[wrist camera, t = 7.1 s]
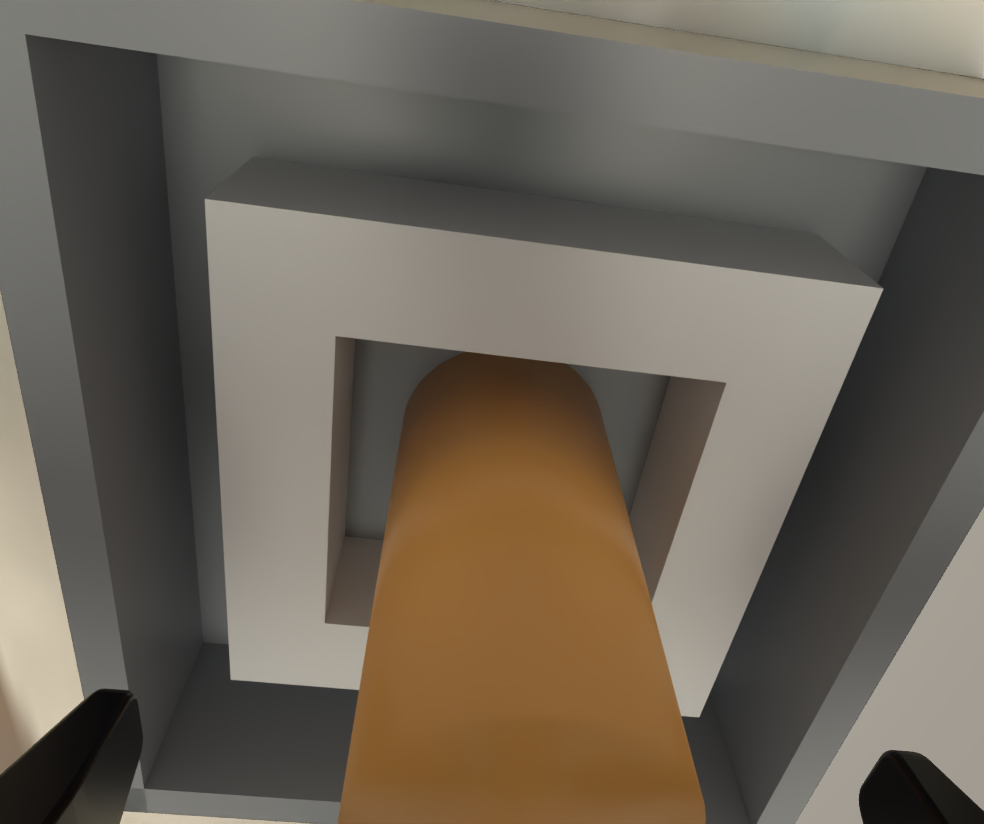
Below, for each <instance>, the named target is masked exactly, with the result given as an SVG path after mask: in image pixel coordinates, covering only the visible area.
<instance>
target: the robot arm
mask: <svg viewBox="0 0 984 824" xmlns="http://www.w3.org/2000/svg"><path fill="white" fill-rule="evenodd" d="M142 746H143V730H142V724H141V717H140V711H139V704H138V699H137V695H136V694H135V693H134V692H133V691H130V690H119V689H106V688H104V689H99V690H97V691H94V692H93V693H91V694H90V695H89V696H88V697H87V698H86V699H84V700H83V701H82V702H81V703H80V704H79V705H78V706H77V707H76V708H74V709H73V710H72V711H71V712H70V713H69V714H68V715H67V716H65V717H64V718H63V719H62V720H61V721H60V722H59V723H58V724H57V725H55V726H54V727H53V728H52V729H51V730H50V731H49V732H48V733H46V734H45V735H44V736H43V737H42V738H41V739H40V740H39V741H38V742H36V743H35V744H34V745H33V746H32V747H31V748H30V749H29V750H28V751H26V752H25V753H24V754H23V755H22V756H21V757H20V758H19V759H17V760H16V761H15V762H14V763H13V764H12V765H11V766H10V767H8V768H7V769H6V770H5V771H4V772H3V773H2V774H1V775H0V824H120V821H121V817H122V814H123V811H124V808H125V805H126V801H127V798H128V795H129V792H130V788H131V785H132V782H133V779H134V775H135V772H136V769H137V766H138V763H139V759H140V756H141V751H142ZM859 807H860V812H861V816H862V820H863V824H984V811H983V810H982V809H981V808H980V807H979V806H978V805H977V804H975V803H974V802H973V801H972V800H971V799H970V798H969V797H968V796H967V795H966V794H965V793H964V792H963V791H962V790H961V789H960V788H958V787H957V786H956V785H955V784H954V783H953V782H952V781H951V780H950V779H949V778H948V777H947V776H946V775H945V774H944V773H943V772H942V771H940V770H939V769H938V768H937V767H936V766H935V765H934V764H933V763H932V762H931V761H930V760H929V759H927V758H926V757H925V756H923V755H921V754H919V753H916V752H909V751H897V750H890V751H887V752H885V753H883V754H882V756H881V757H880V758H879V760H878V761H877V763H876V764H875V766H874V768H873V769H872V771H871V772H870V774H869V775H868V777H867V778H866V780H865V781H864V783H863V785H862V787H861V789H860V793H859Z"/></svg>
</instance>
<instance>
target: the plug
mask: <svg viewBox="0 0 984 824" xmlns="http://www.w3.org/2000/svg"><path fill="white" fill-rule="evenodd" d="M705 822H706V814H705V804H704V800H703V796H702V793H701V789H700V785H699V781H698V777H697V774H696V770H695V766H694V762H693V758H692V755H691V751H690V747H689V743H688V740H687V736H686V732H685V728H684V724H683V721H682V717H681V713H680V709H679V706H678V702H677V698H676V694H675V690H674V687H673V683H672V679H671V675H670V671H669V668H668V664H667V660H666V656H665V653H664V649H663V645H662V641H661V637H660V634H659V630H658V626H657V622H656V619H655V615H654V611H653V607H652V603H651V600H650V596H649V592H648V588H647V584H646V581H645V577H644V573H643V569H642V566H641V562H640V558H639V554H638V550H637V547H636V543H635V539H634V535H633V532H632V528H631V524H630V520H629V516H628V513H627V509H626V505H625V501H624V497H623V494H622V490H621V486H620V482H619V479H618V475H617V471H616V467H615V463H614V460H613V456H612V452H611V448H610V445H609V441H608V437H607V433H606V429H605V426H604V422H603V418H602V414H601V411H600V407H599V404H598V401H597V399H596V397H595V395H594V393H593V391H592V390H591V388H590V387H589V385H588V384H587V382H586V381H585V380H584V379H583V378H582V377H581V376H580V375H579V374H578V373H577V372H576V371H575V370H574V369H572V368H571V367H570V366H569V365H567V364H566V363H558V362H549V361H541V360H532V359H524V358H516V357H507V356H499V355H490V354H482V353H474V352H463V353H461V354H459V355H456V356H454V357H452V358H450V359H448V360H446V361H445V362H443V363H442V364H440V365H438V366H437V367H436V368H435V369H433V370H432V371H431V372H430V373H429V374H428V375H427V376H426V377H425V378H424V379H423V380H422V381H421V382H420V383H419V385H418V386H417V387H416V389H415V390H414V392H413V393H412V395H411V397H410V399H409V401H408V403H407V406H406V409H405V412H404V417H403V423H402V429H401V435H400V441H399V447H398V453H397V460H396V466H395V472H394V478H393V484H392V490H391V496H390V503H389V509H388V515H387V521H386V527H385V533H384V539H383V546H382V552H381V558H380V564H379V570H378V576H377V583H376V589H375V595H374V601H373V607H372V613H371V619H370V626H369V632H368V638H367V644H366V650H365V656H364V663H363V669H362V675H361V681H360V687H359V693H358V699H357V706H356V712H355V718H354V724H353V730H352V736H351V742H350V749H349V755H348V761H347V767H346V773H345V779H344V786H343V792H342V798H341V804H340V810H339V816H338V822H337V824H705Z"/></svg>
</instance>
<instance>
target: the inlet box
mask: <svg viewBox="0 0 984 824" xmlns="http://www.w3.org/2000/svg"><path fill="white" fill-rule="evenodd" d="M0 290H1V295H2V300H3V305H4V310H5V314H6V319H7V324H8V329H9V334H10V339H11V344H12V349H13V354H14V358H15V363H16V368H17V373H18V378H19V383H20V388H21V393H22V398H23V403H24V407H25V412H26V417H27V422H28V427H29V432H30V437H31V442H32V447H33V451H34V456H35V461H36V466H37V471H38V476H39V481H40V486H41V491H42V495H43V500H44V505H45V510H46V515H47V520H48V525H49V530H50V535H51V539H52V544H53V549H54V554H55V559H56V564H57V569H58V574H59V579H60V583H61V588H62V593H63V598H64V603H65V608H66V613H67V618H68V623H69V627H70V632H71V637H72V642H73V647H74V652H75V657H76V662H77V667H78V671H79V676H80V681H81V686H82V691H83V696H84V699H86V698H87V697H88V696H89V695H90V694H91V693H93V692H94V691H97V690H99V689H104V688H106V689H119V690H130V691H133V692H134V693H135V694H136V695H137V699H138V704H139V711H140V717H141V724H142V730H143V746H142V751H141V756H140V759H139V763H138V766H137V769H136V772H135V775H134V779H133V782H132V785H131V788H130V792H129V795H128V798H127V801H126V805H125V808H124V811H130V812H145V813H160V814H176V815H191V816H206V817H221V818H237V819H252V820H267V821H282V822H298V823H313V824H337V822H338V816H339V810H340V804H341V798H342V792H343V786H344V779H345V773H346V767H347V761H348V755H349V749H350V742H351V736H352V730H353V724H354V718H355V712H356V706H357V699H358V693H359V687H360V681H361V675H362V669H363V663H364V656H365V650H366V644H367V638H368V632H369V626H370V619H371V613H372V607H373V601H374V595H375V589H376V583H377V576H378V570H379V564H380V558H381V552H382V546H383V539H384V533H385V527H386V521H387V515H388V509H389V503H390V496H391V490H392V484H393V478H394V472H395V466H396V460H397V453H398V447H399V441H400V435H401V429H402V423H403V417H404V412H405V409H406V406H407V403H408V401H409V399H410V397H411V395H412V393H413V392H414V390H415V389H416V387H417V386H418V385H419V383H420V382H421V381H422V380H423V379H424V378H425V377H426V376H427V375H428V374H429V373H430V372H431V371H432V370H433V369H435V368H436V367H437V366H438V365H440V364H442V363H443V362H445V361H446V360H448V359H450V358H452V357H454V356H456V355H459V354H461V353H463V352H474V353H482V354H490V355H499V356H507V357H516V358H524V359H532V360H541V361H549V362H558V363H566V364H567V365H569V366H570V367H571V368H572V369H574V370H575V371H576V372H577V373H578V374H579V375H580V376H581V377H582V378H583V379H584V380H585V381H586V382H587V384H588V385H589V387H590V388H591V390H592V391H593V393H594V395H595V397H596V399H597V401H598V404H599V407H600V411H601V414H602V418H603V422H604V426H605V429H606V433H607V437H608V441H609V445H610V448H611V452H612V456H613V460H614V463H615V467H616V471H617V475H618V479H619V482H620V486H621V490H622V494H623V497H624V501H625V505H626V509H627V513H628V516H629V520H630V524H631V528H632V532H633V535H634V539H635V543H636V547H637V550H638V554H639V558H640V562H641V566H642V569H643V573H644V577H645V581H646V584H647V588H648V592H649V596H650V600H651V603H652V607H653V611H654V615H655V619H656V622H657V626H658V630H659V634H660V637H661V641H662V645H663V649H664V653H665V656H666V660H667V664H668V668H669V671H670V675H671V679H672V683H673V687H674V690H675V694H676V698H677V702H678V706H679V709H680V713H681V717H682V721H683V724H684V728H685V732H686V736H687V740H688V743H689V747H690V751H691V755H692V758H693V762H694V766H695V770H696V774H697V777H698V781H699V785H700V789H701V793H702V796H703V800H704V804H705V814H706V822H705V824H795V823H796V821H797V819H798V818H799V816H800V814H801V813H802V811H803V809H804V807H805V806H806V804H807V803H808V801H809V799H810V798H811V796H812V794H813V792H814V791H815V789H816V787H817V786H818V784H819V782H820V781H821V779H822V777H823V776H824V774H825V772H826V771H827V769H828V767H829V766H830V764H831V762H832V760H833V759H834V757H835V756H836V754H837V752H838V750H839V749H840V747H841V745H842V744H843V742H844V740H845V739H846V737H847V735H848V734H849V732H850V730H851V729H852V727H853V725H854V724H855V722H856V720H857V719H858V717H859V715H860V714H861V712H862V710H863V708H864V707H865V705H866V703H867V702H868V700H869V698H870V697H871V695H872V693H873V692H874V690H875V688H876V686H877V685H878V683H879V681H880V680H881V678H882V677H883V675H884V673H885V672H886V670H887V668H888V666H889V665H890V663H891V661H892V660H893V658H894V656H895V655H896V652H897V651H898V650H899V648H900V646H901V645H902V643H903V641H904V639H905V638H906V636H907V635H908V633H909V631H910V630H911V628H912V626H913V624H914V623H915V621H916V619H917V618H918V616H919V614H920V613H921V611H922V609H923V608H924V606H925V604H926V603H927V601H928V599H929V598H930V596H931V594H932V592H933V591H934V589H935V587H936V586H937V584H938V582H939V581H940V579H941V577H942V576H943V574H944V572H945V571H946V569H947V567H948V566H949V564H950V562H951V561H952V559H953V557H954V555H955V554H956V552H957V550H958V549H959V547H960V545H961V544H962V542H963V540H964V539H965V537H966V535H967V534H968V532H969V530H970V529H971V527H972V525H973V524H974V522H975V520H976V519H977V517H978V515H979V513H980V512H981V510H982V509H983V507H984V79H981V78H974V77H968V76H962V75H955V74H949V73H943V72H936V71H930V70H924V69H917V68H911V67H905V66H899V65H892V64H886V63H880V62H873V61H867V60H861V59H854V58H848V57H842V56H835V55H829V54H823V53H817V52H810V51H804V50H798V49H791V48H785V47H779V46H772V45H766V44H760V43H753V42H747V41H741V40H734V39H728V38H722V37H716V36H709V35H703V34H697V33H690V32H684V31H678V30H671V29H665V28H659V27H652V26H646V25H640V24H634V23H627V22H621V21H615V20H608V19H602V18H596V17H589V16H583V15H577V14H570V13H564V12H558V11H551V10H545V9H539V8H533V7H526V6H520V5H514V4H507V3H501V2H495V1H488V0H0Z"/></svg>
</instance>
